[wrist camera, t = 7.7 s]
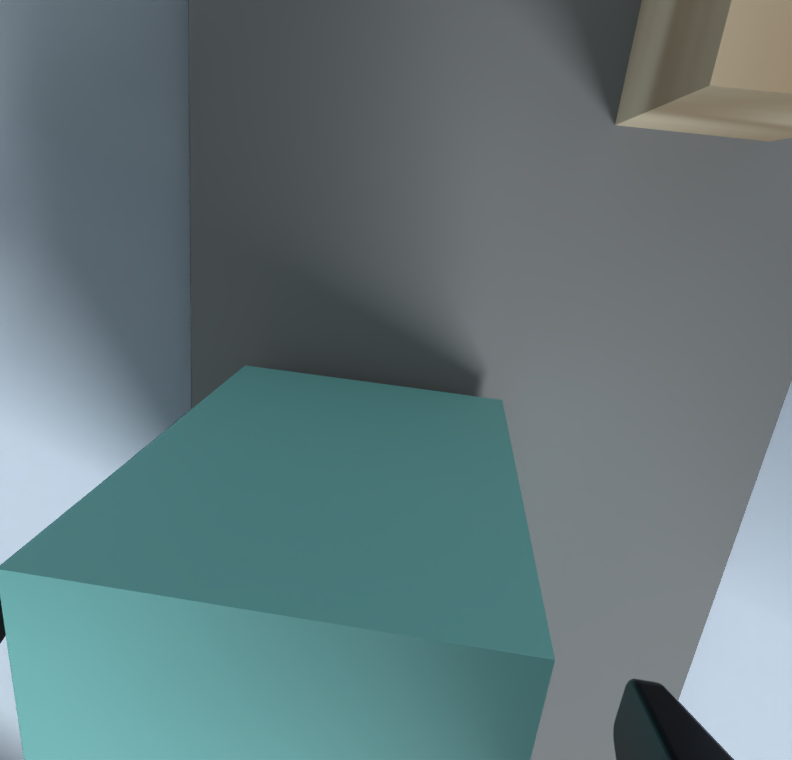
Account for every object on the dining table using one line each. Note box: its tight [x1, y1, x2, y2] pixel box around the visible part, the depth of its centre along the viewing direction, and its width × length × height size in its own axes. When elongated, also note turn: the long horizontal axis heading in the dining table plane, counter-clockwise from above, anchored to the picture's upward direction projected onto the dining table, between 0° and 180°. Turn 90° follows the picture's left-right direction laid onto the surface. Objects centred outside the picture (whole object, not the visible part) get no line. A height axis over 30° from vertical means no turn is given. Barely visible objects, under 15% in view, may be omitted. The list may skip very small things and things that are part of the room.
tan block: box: [615, 0, 792, 142], centre depth 8 cm, size 3×3×4 cm
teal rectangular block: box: [0, 365, 555, 760], centre depth 9 cm, size 5×5×7 cm
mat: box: [188, 0, 792, 760], centre depth 13 cm, size 12×25×1 cm, turn 174°
